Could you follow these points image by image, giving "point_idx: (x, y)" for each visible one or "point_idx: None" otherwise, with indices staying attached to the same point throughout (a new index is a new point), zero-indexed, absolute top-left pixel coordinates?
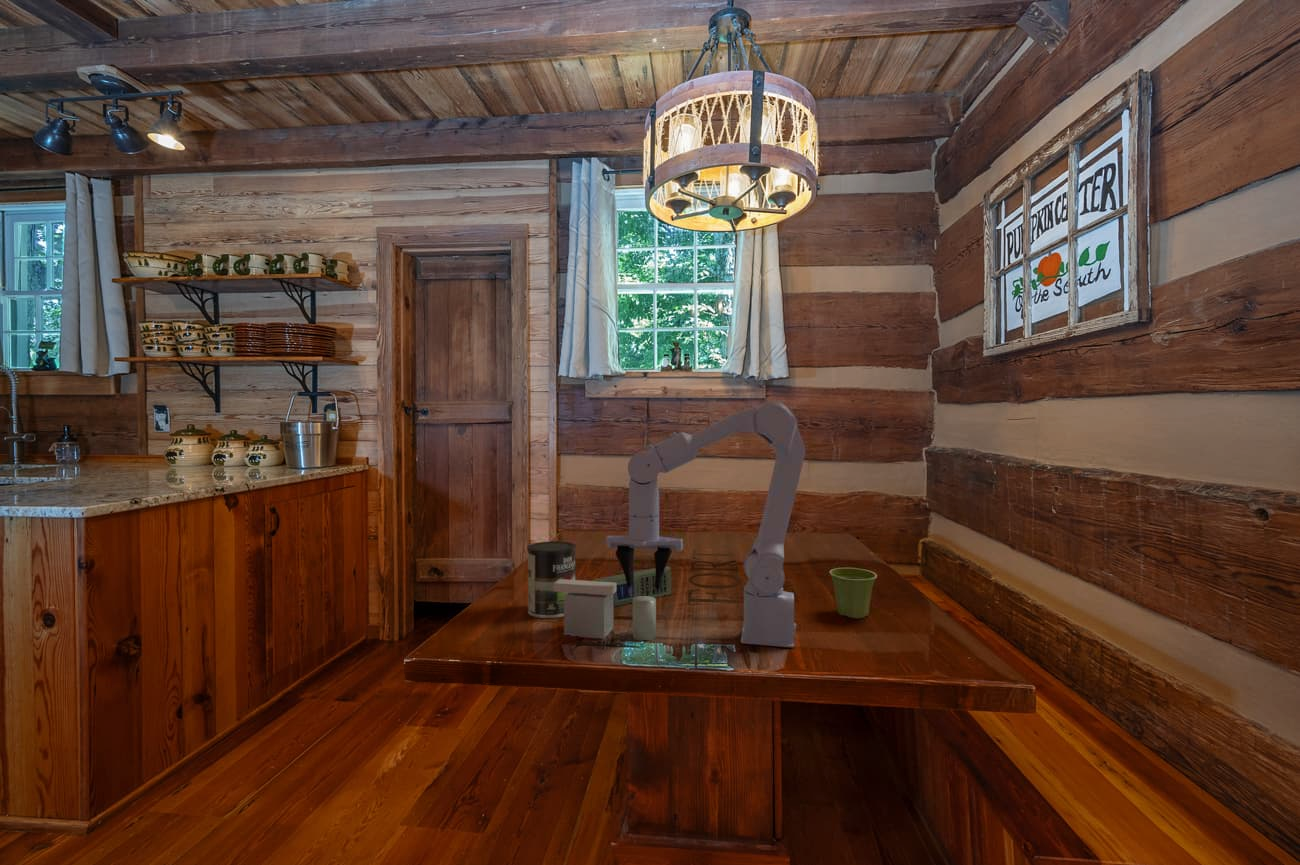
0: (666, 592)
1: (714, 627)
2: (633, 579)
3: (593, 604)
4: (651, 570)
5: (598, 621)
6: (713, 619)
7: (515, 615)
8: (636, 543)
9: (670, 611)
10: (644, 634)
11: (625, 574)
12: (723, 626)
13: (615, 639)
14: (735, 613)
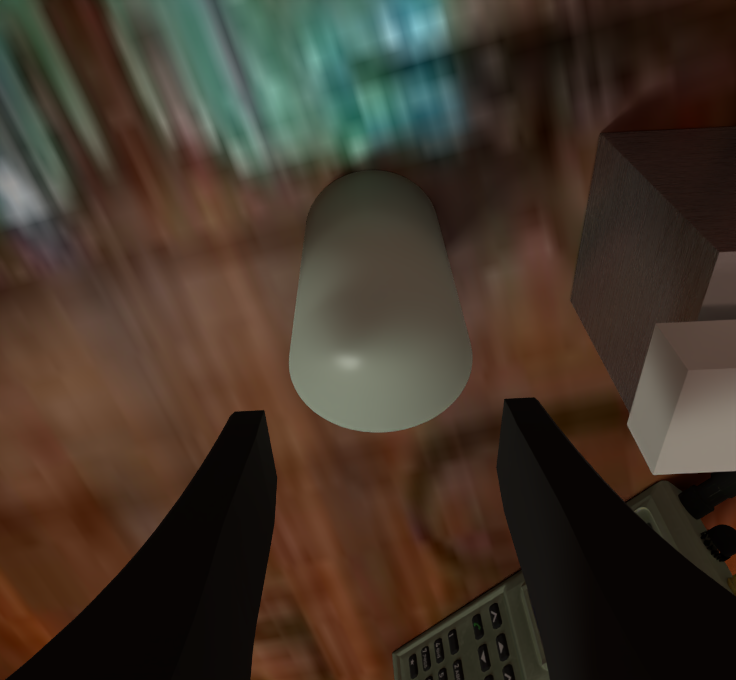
0: (407, 654)
1: (73, 420)
2: (503, 504)
3: None
4: None
5: (682, 171)
6: (122, 493)
7: None
8: None
9: (340, 525)
10: (351, 188)
11: (590, 475)
12: (40, 439)
13: (528, 147)
14: (65, 560)
